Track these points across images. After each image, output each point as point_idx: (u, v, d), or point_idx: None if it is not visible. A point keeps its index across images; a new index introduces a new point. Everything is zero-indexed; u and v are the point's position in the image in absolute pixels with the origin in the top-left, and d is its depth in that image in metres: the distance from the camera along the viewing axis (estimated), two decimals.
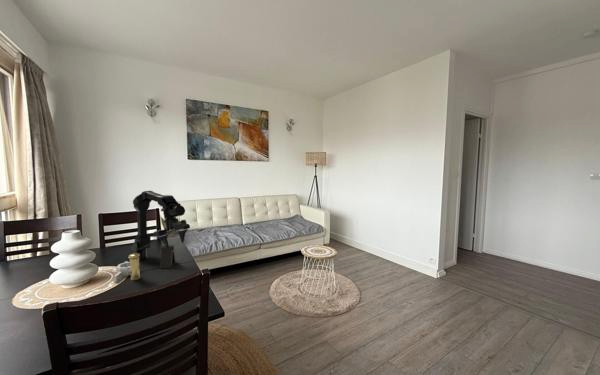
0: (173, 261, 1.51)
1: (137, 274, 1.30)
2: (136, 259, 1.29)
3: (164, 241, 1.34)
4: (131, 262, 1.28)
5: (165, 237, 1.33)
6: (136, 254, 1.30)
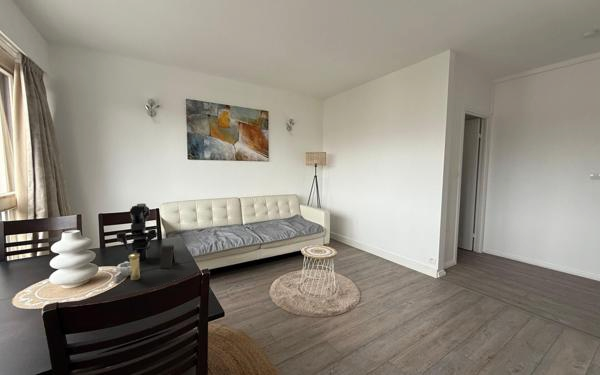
0: (173, 261, 1.51)
1: (137, 274, 1.30)
2: (136, 259, 1.29)
3: None
4: (131, 262, 1.28)
5: (123, 239, 1.36)
6: (136, 254, 1.30)
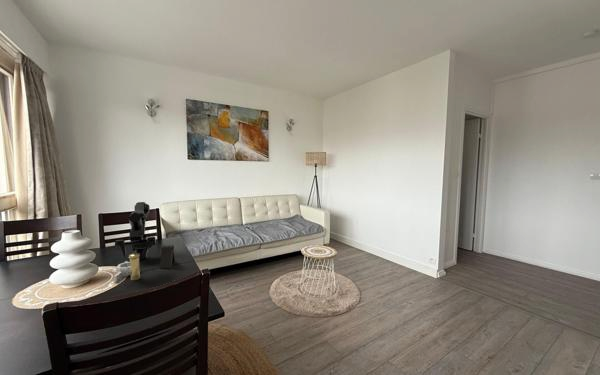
0: (173, 261, 1.51)
1: (137, 274, 1.30)
2: (136, 259, 1.29)
3: None
4: (131, 262, 1.28)
5: (122, 246, 1.32)
6: (136, 254, 1.30)
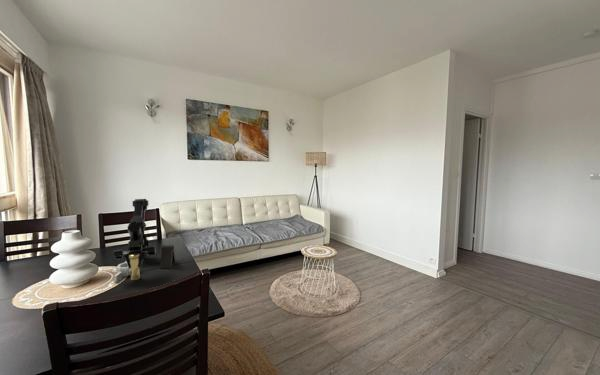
0: (173, 261, 1.51)
1: (137, 274, 1.30)
2: (136, 259, 1.29)
3: (127, 262, 1.30)
4: (131, 262, 1.28)
5: (126, 256, 1.29)
6: (136, 254, 1.30)
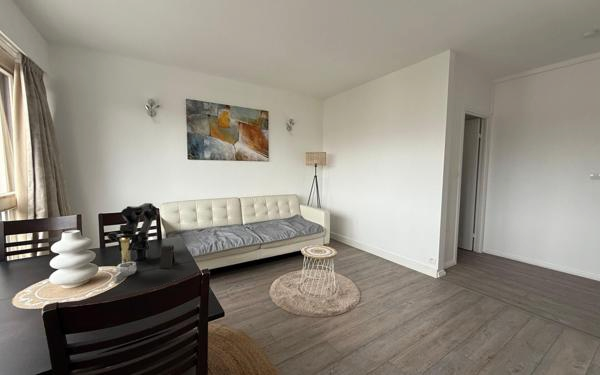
0: (173, 261, 1.51)
1: (127, 257, 1.35)
2: (126, 242, 1.34)
3: None
4: (121, 245, 1.34)
5: (118, 239, 1.35)
6: (127, 238, 1.35)
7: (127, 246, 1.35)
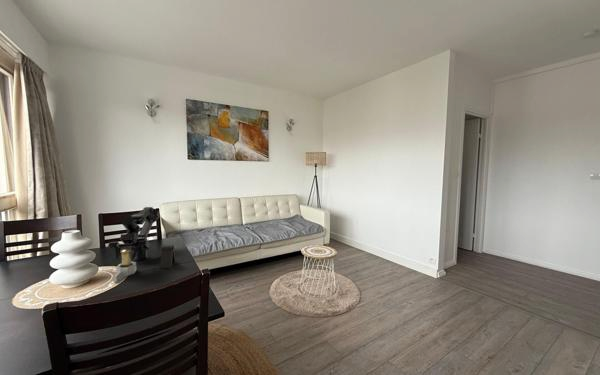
0: (173, 261, 1.51)
1: None
2: (126, 254, 1.35)
3: None
4: (122, 257, 1.35)
5: (116, 248, 1.36)
6: (127, 249, 1.36)
7: (127, 258, 1.35)
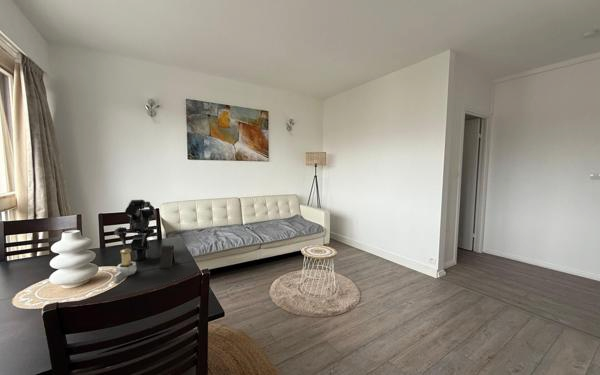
0: (173, 261, 1.51)
1: None
2: (126, 254, 1.35)
3: (122, 239, 1.38)
4: (122, 257, 1.35)
5: (124, 235, 1.38)
6: (127, 249, 1.36)
7: (127, 258, 1.35)
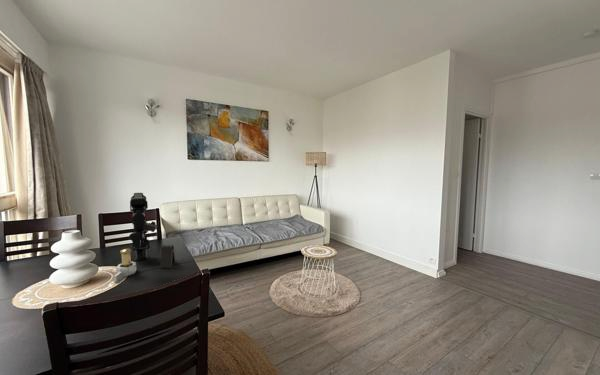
0: (173, 261, 1.51)
1: None
2: (126, 254, 1.35)
3: (137, 243, 1.37)
4: (122, 257, 1.35)
5: (141, 239, 1.37)
6: (127, 249, 1.37)
7: (127, 258, 1.35)
